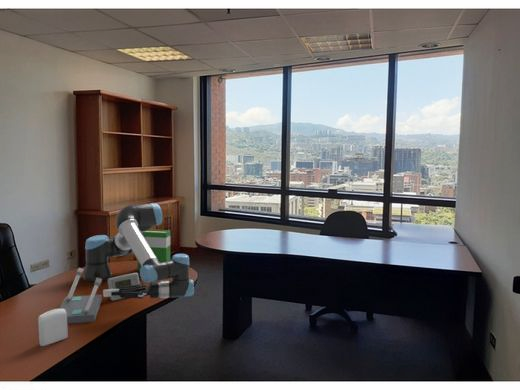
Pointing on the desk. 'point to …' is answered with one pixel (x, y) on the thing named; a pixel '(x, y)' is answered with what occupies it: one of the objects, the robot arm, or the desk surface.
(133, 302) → the desk surface
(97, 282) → the lever
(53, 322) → the photo printer
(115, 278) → the digital clock
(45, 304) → the desk surface
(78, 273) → the lever
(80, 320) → the switch unit
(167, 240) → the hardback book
